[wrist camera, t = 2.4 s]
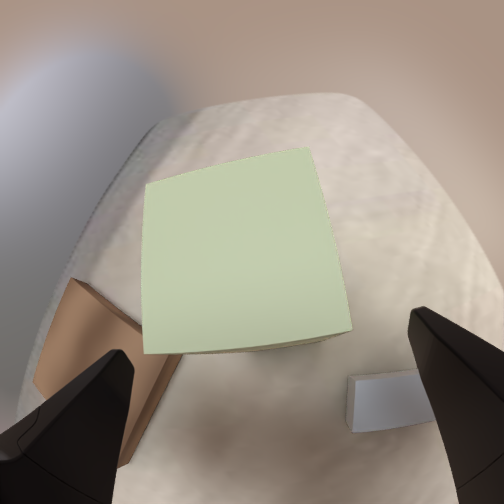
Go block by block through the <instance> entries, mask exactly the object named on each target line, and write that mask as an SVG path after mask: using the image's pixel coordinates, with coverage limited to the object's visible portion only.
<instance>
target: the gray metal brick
mask: <svg viewBox="0 0 504 504" xmlns="http://www.w3.org/2000/svg"><path fill="white" fill-rule="evenodd" d="M435 420H436V419H435V416H434V413H433V410H432V407H431V405H430V402H429V399H428V397H427V394H426V391H425V389H424V386H423V384H422V381H421V378H420V375H419V371H418V369H412V370H404V371H396V372H387V373H377V374H365V375H350V376H348V390H347V406H346V420H345V421H346V423H347V425H348V426H349V428H350V430H351V432H352V433H360V432H370V431H378V430H386V429H393V428H399V427H405V426H411V425H416V424H421V423H426V422H431V421H435Z"/></svg>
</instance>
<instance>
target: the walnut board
mask: <svg viewBox="0 0 504 504" xmlns="http://www.w3.org/2000/svg"><path fill="white" fill-rule="evenodd" d="M112 349H122V350H123V351H124V352H125V353H126V355H127V356H128V358H129V359H130V361H131V362H132V364H133V366H134V369H135V374H134V380H133V387H132V394H131V401H130V408H129V413H128V418H127V422H126V427H125V431H124V436H123V441H122V446H121V451H120V456H119V461H118V467H117V469H118V468H120V467H122V466H124V465H126V464H128V463H129V461H130V459H131V457H132V455H133V453H134V451H135V449H136V447H137V445H138V443H139V440H140V438H141V436H142V434H143V432H144V430H145V428H146V426H147V424H148V422H149V420H150V418H151V416H152V414H153V412H154V410H155V408H156V406H157V404H158V402H159V400H160V398H161V396H162V394H163V392H164V390H165V388H166V386H167V384H168V382H169V380H170V378H171V376H172V374H173V372H174V370H175V368H176V366H177V364H178V362H179V360H180V358H181V356H182V354H178V355H166V354H144V348H143V332H142V326H141V325H139V324H138V323H136V322H135V321H134V320H132V319H131V318H130V317H128V316H127V315H126V314H124V313H123V312H122V311H120V310H119V309H118V308H116V307H115V306H114V305H113V304H111V303H110V302H109V301H107V300H106V299H105V298H104V297H102V296H101V295H100V294H99V293H98V292H96V291H95V290H94V289H93V288H92V287H90V286H89V285H88V284H87V283H85V282H82V281H79V280H77V279H74V278H72V277H71V278H70V280H69V283H68V285H67V287H66V289H65V292H64V294H63V296H62V299H61V301H60V303H59V306H58V308H57V311H56V313H55V316H54V318H53V321H52V323H51V326H50V329H49V331H48V334H47V337H46V340H45V343H44V346H43V349H42V352H41V355H40V358H39V361H38V365H37V368H36V372H35V375H34V379H33V383H34V384H35V386H36V387H37V389H38V390H39V391H40V393H41V394H42V395H43V397H44V398H45V399H46V400H48V399H49V398H50V397H51V396H53V395H54V394H55V393H56V392H58V391H59V390H60V389H61V388H63V387H64V386H65V385H66V384H68V383H69V382H70V381H72V380H73V379H74V378H75V377H77V376H78V375H79V374H80V373H82V372H83V371H84V370H85V369H87V368H88V367H89V366H91V365H92V364H93V363H94V362H96V361H97V360H98V359H99V358H101V357H102V356H103V355H105V354H106V353H107V352H108V351H110V350H112Z"/></svg>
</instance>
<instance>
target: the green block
mask: <svg viewBox="0 0 504 504" xmlns="http://www.w3.org/2000/svg"><path fill="white" fill-rule="evenodd" d="M141 307H142V332H143V348H144V354H166V355H178V354H218V353H237V352H251V351H260V350H268V349H275V348H282V347H289V346H296V345H302V344H308V343H314V342H320V341H323V340H326V339H329V338H332V337H335V336H338V335H341V334H344V333H346V332H349V331H352V330H353V329H352V323H351V317H350V311H349V306H348V300H347V295H346V290H345V285H344V280H343V275H342V270H341V266H340V261H339V257H338V252H337V248H336V243H335V239H334V235H333V231H332V227H331V223H330V219H329V215H328V211H327V207H326V204H325V200H324V196H323V193H322V189H321V186H320V182H319V179H318V175H317V172H316V168H315V165H314V162H313V158H312V155H311V152H310V149H309V147H303V148H297V149H291V150H285V151H280V152H274V153H269V154H264V155H259V156H254V157H249V158H245V159H240V160H236V161H231V162H227V163H223V164H218V165H214V166H210V167H206V168H202V169H198V170H195V171H191V172H187V173H183V174H180V175H176V176H173V177H169V178H166V179H162V180H159V181H156V182H152V183H149V184H146V188H145V200H144V213H143V229H142V254H141Z"/></svg>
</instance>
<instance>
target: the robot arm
mask: <svg viewBox="0 0 504 504" xmlns="http://www.w3.org/2000/svg"><path fill="white" fill-rule="evenodd" d="M408 338H409V341H410V344H411V347H412V351H413V354H414V357H415V361H416V364H417V368H418V371H419V375H420V378H421V381H422V384H423V386H424V389H425V391H426V394H427V397H428V399H429V402H430V405H431V407H432V410H433V413H434V416H435V419H436V421H437V424H438V427H439V430H440V433H441V437H442V440H443V443H444V446H445V449H446V453H447V456H448V460H449V463H450V467H451V471H452V475H453V479H454V483H455V487H456V492H457V497H458V502H459V504H504V352H503V351H501V350H500V349H498V348H496V347H495V346H493V345H491V344H490V343H488V342H486V341H485V340H483V339H481V338H480V337H478V336H476V335H474V334H473V333H471V332H469V331H468V330H466V329H464V328H462V327H461V326H459V325H457V324H455V323H454V322H452V321H450V320H448V319H447V318H445V317H443V316H441V315H439V314H438V313H436V312H434V311H432V310H430V309H429V308H427V307H425V306H422V307H418V308H414V309H412V310H411V313H410V319H409V325H408ZM134 374H135V369H134V366H133V364H132V362H131V361H130V359H129V358H128V356H127V355H126V353H125V352H124V351H123V350H122V349H112V350H110V351H108V352H107V353H106V354H105V355H103V356H102V357H101V358H99V359H98V360H97V361H96V362H94V363H93V364H92V365H91V366H89V367H88V368H87V369H85V370H84V371H83V372H82V373H80V374H79V375H78V376H77V377H75V378H74V379H73V380H72V381H70V382H69V383H68V384H66V385H65V386H64V387H63V388H61V389H60V390H59V391H58V392H56V393H55V394H54V395H53V396H51V397H50V398H49V399H48V400H46V401H45V402H44V403H43V404H41V406H39V407H37V408H36V409H35V410H34V411H32V412H31V413H30V414H29V415H27V416H26V417H25V418H23V419H22V420H20V421H19V422H18V423H16V424H15V425H13V426H12V427H10V428H9V429H8V430H6V431H4V432H3V433H2V434H0V504H112V498H113V491H114V484H115V478H116V472H117V467H118V461H119V456H120V451H121V446H122V441H123V436H124V431H125V427H126V422H127V418H128V413H129V408H130V401H131V394H132V387H133V380H134Z"/></svg>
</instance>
